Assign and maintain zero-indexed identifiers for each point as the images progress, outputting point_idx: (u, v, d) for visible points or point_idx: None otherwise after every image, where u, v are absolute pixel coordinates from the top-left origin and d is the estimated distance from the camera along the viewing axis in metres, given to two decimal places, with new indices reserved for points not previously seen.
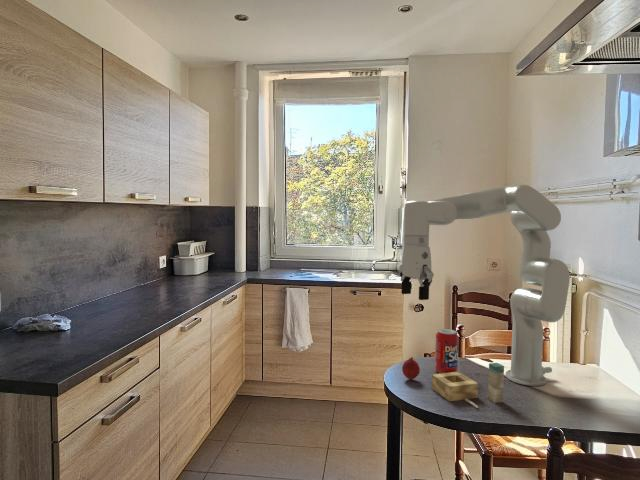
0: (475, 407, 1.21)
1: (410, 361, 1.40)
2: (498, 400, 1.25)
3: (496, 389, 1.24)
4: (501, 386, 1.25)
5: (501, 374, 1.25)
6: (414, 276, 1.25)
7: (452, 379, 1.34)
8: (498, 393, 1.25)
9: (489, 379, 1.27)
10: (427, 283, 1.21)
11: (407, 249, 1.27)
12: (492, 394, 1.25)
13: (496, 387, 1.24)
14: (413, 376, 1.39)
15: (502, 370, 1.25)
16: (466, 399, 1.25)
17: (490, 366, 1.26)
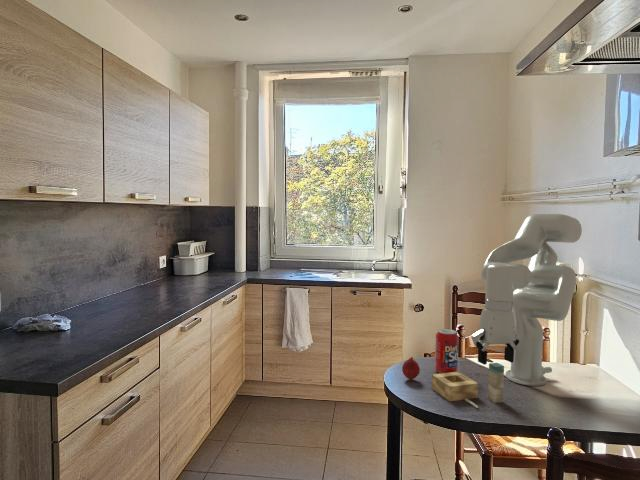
0: (475, 407, 1.21)
1: (410, 361, 1.40)
2: (498, 400, 1.25)
3: (496, 389, 1.24)
4: (501, 386, 1.25)
5: (501, 374, 1.25)
6: (509, 341, 1.24)
7: (452, 379, 1.34)
8: (498, 393, 1.25)
9: (489, 379, 1.27)
10: None
11: (502, 316, 1.22)
12: (492, 394, 1.25)
13: (496, 387, 1.24)
14: (413, 376, 1.39)
15: (502, 370, 1.25)
16: (466, 399, 1.25)
17: (490, 366, 1.26)
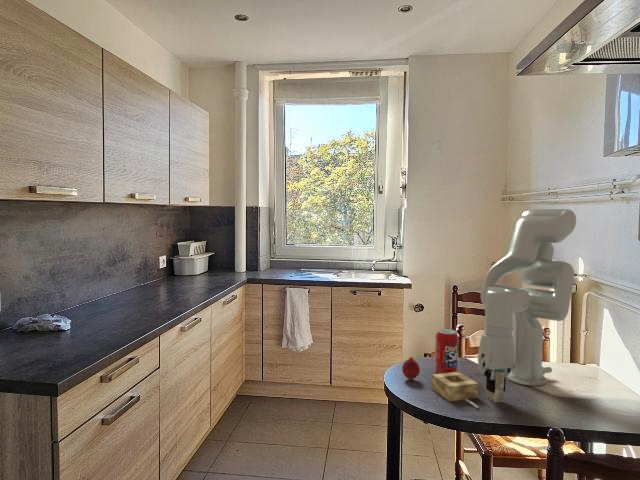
0: (475, 407, 1.21)
1: (410, 361, 1.40)
2: (498, 400, 1.25)
3: (497, 389, 1.24)
4: (501, 386, 1.25)
5: (501, 374, 1.25)
6: (509, 366, 1.25)
7: (452, 379, 1.34)
8: (499, 393, 1.25)
9: None
10: None
11: (501, 341, 1.23)
12: (492, 394, 1.25)
13: (496, 387, 1.24)
14: (413, 376, 1.39)
15: (502, 370, 1.25)
16: (466, 399, 1.25)
17: None
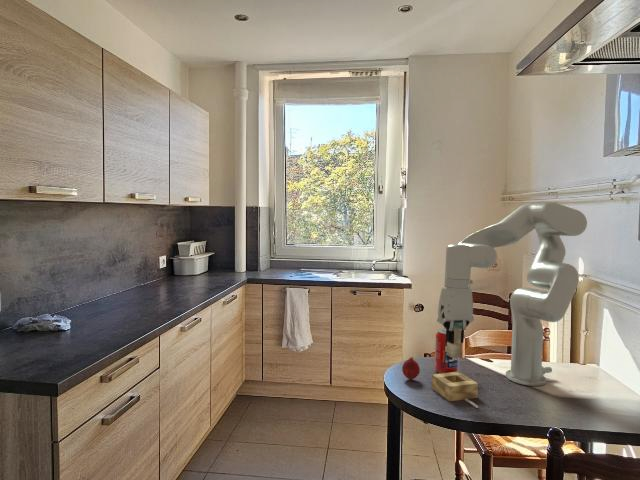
0: (475, 407, 1.21)
1: (410, 361, 1.40)
2: (456, 355, 1.29)
3: (454, 345, 1.29)
4: (459, 342, 1.29)
5: (459, 330, 1.29)
6: (467, 318, 1.29)
7: (452, 379, 1.34)
8: (456, 348, 1.29)
9: None
10: None
11: (459, 293, 1.27)
12: (450, 349, 1.30)
13: (454, 343, 1.29)
14: (413, 376, 1.39)
15: (460, 326, 1.29)
16: (466, 399, 1.25)
17: None
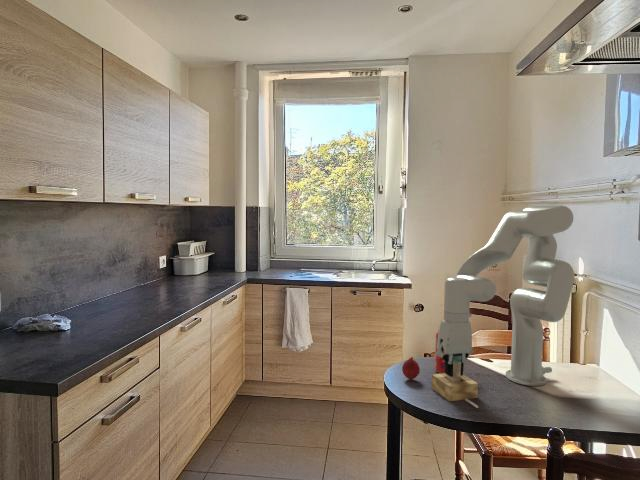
0: (475, 407, 1.21)
1: (410, 361, 1.40)
2: None
3: (454, 378, 1.29)
4: (458, 375, 1.30)
5: (458, 363, 1.30)
6: (466, 351, 1.29)
7: None
8: None
9: None
10: None
11: (458, 327, 1.27)
12: None
13: (453, 376, 1.29)
14: (413, 376, 1.39)
15: (459, 360, 1.30)
16: (466, 399, 1.25)
17: None
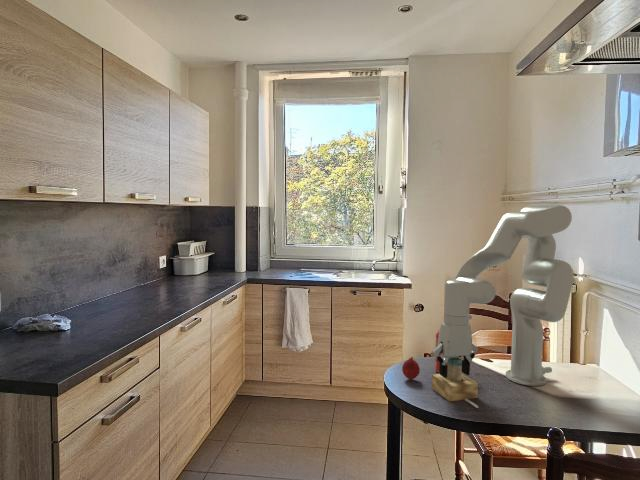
0: (475, 407, 1.21)
1: (410, 361, 1.40)
2: None
3: None
4: (459, 379, 1.30)
5: (458, 367, 1.30)
6: (466, 353, 1.29)
7: None
8: None
9: (448, 372, 1.32)
10: None
11: (459, 329, 1.28)
12: None
13: (454, 380, 1.30)
14: (413, 376, 1.39)
15: (460, 363, 1.30)
16: (466, 399, 1.25)
17: (449, 360, 1.31)
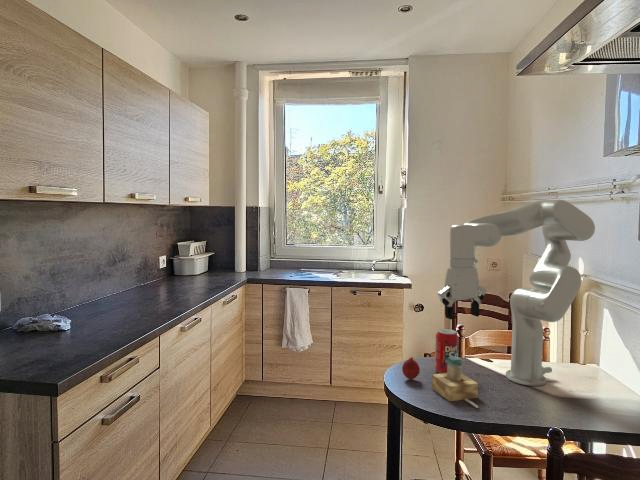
0: (475, 407, 1.21)
1: (410, 361, 1.40)
2: None
3: None
4: (459, 379, 1.30)
5: (458, 367, 1.30)
6: (473, 296, 1.30)
7: None
8: None
9: (448, 372, 1.32)
10: None
11: (465, 272, 1.28)
12: None
13: (454, 380, 1.30)
14: (413, 376, 1.39)
15: (459, 363, 1.30)
16: (466, 399, 1.25)
17: (448, 360, 1.31)
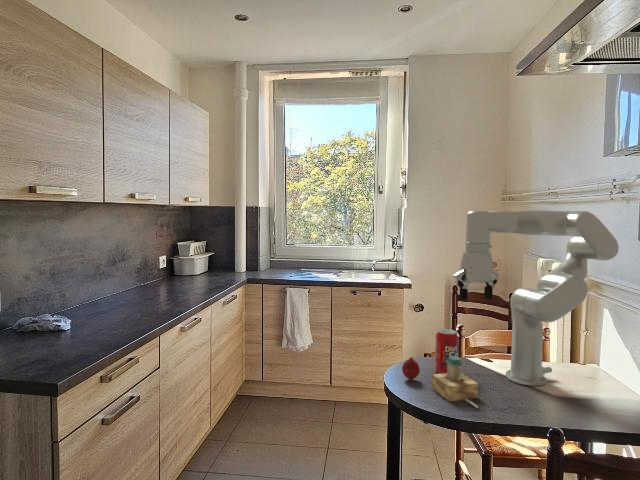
0: (475, 407, 1.21)
1: (410, 361, 1.40)
2: None
3: None
4: (459, 379, 1.30)
5: (458, 367, 1.30)
6: (487, 280, 1.36)
7: None
8: None
9: (448, 372, 1.32)
10: None
11: (480, 256, 1.34)
12: None
13: (454, 380, 1.30)
14: (413, 376, 1.39)
15: (459, 363, 1.30)
16: (466, 399, 1.25)
17: (448, 360, 1.31)
